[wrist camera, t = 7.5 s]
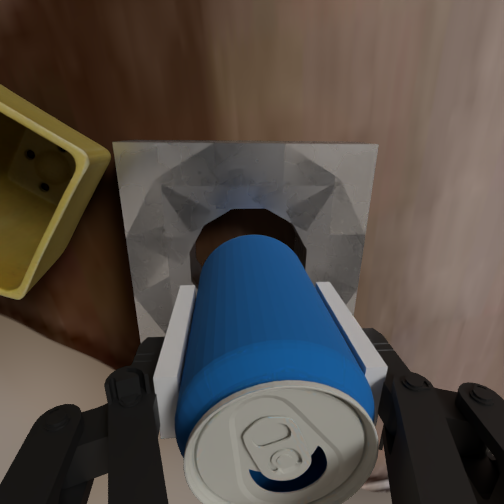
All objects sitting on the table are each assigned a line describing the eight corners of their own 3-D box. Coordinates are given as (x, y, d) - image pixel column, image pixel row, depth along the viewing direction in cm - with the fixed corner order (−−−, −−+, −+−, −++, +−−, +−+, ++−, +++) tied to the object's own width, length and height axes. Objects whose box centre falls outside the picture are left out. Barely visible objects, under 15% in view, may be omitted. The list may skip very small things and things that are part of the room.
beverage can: (224, 335, 22) (222, 556, 10) (182, 253, 19) (122, 425, 8) (314, 301, 21) (412, 494, 10) (282, 214, 19) (364, 336, 8)
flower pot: (14, 66, 20) (-137, 21, 12) (141, 146, 22) (91, 156, 14) (-30, 183, 22) (-182, 216, 14) (89, 245, 25) (19, 304, 16)
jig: (154, 332, 28) (143, 363, 24) (131, 139, 22) (112, 142, 18) (332, 325, 29) (347, 354, 25) (354, 141, 23) (378, 144, 20)
